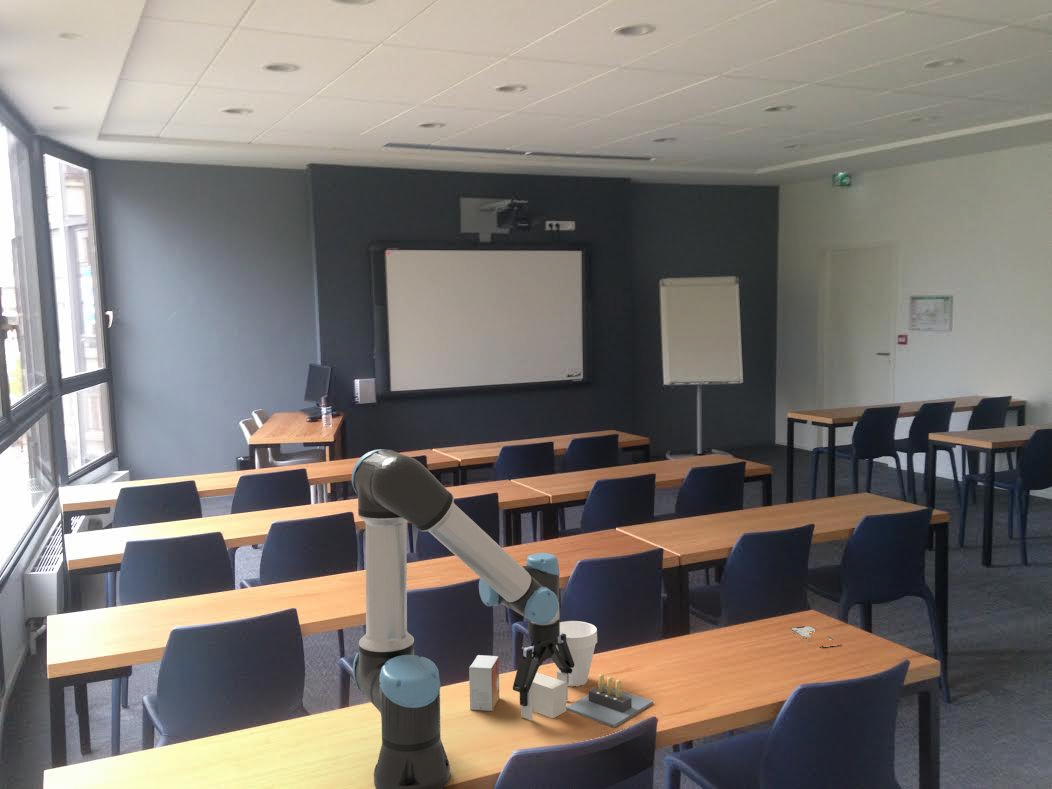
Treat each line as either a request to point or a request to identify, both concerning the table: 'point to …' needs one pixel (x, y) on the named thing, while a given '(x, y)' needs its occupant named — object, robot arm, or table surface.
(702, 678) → the table surface
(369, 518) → the robot arm
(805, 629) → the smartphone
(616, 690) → the header
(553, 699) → the block
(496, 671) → the small box
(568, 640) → the cup
